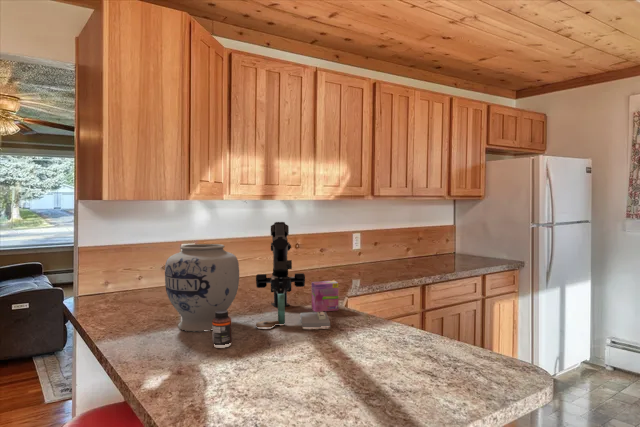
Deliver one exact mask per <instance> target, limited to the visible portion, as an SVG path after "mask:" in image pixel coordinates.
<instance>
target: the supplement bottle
mask: <svg viewBox="0 0 640 427" xmlns="http://www.w3.org/2000/svg"><path fill="white" fill-rule="evenodd" d="M212 328H213V331H212V345H213V344H215V345H225V344H229V343H231V342H232V343H233V335H232V334H233V333H232V330H233V328H232V318H231V317H230V316H229V310H228V309H227V310H217V311H216V312H215V318H214V319H213V321H212Z"/></svg>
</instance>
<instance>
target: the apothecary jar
mask: <svg viewBox="0 0 640 427" xmlns="http://www.w3.org/2000/svg"><path fill="white" fill-rule="evenodd" d="M224 248H225V244H222V243H220V244H219V243H198V244H197V243H193V244H191V243H190V244H183V245H180V249H181V251H180V252H176V253H174V254H172V255H171V256H169V257H168V258H167V260H166V262H165V266H164V285H165V291H166V295H167V298H168V300H169V302H170V304H171V305H172V306H173V308H174V310H176V311H177V313H178V314H179V315H180V317H181V318H182V319H181V321H180V322H179V323H178V324H177V327H178V329H179V330H181V329H182V330H181V331H183V330H186V331H185V332H187V331H204V330H211V329H213V328H212V321H213V319H214V318H215V312H216V311H217V310H228V309H229V307H231V305H232V304H233V302H234V300H235V299H236V296H237V293H238V289H239V284H240V283H239V282H240V264H239V260H238V257H237V256H236V255H235V254H234V253H232V252H229V251H226V250H225V249H224Z"/></svg>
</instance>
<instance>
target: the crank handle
mask: <svg viewBox="0 0 640 427" xmlns="http://www.w3.org/2000/svg"><path fill="white" fill-rule="evenodd" d="M284 323H285V324H286V306H285V294H278V307H277V320H273V321H272V320H262V321H258V322H256V323H255V327H256V326H257V327H272V326H274V325H275V324H284Z"/></svg>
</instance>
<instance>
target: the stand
mask: <svg viewBox="0 0 640 427" xmlns="http://www.w3.org/2000/svg"><path fill="white" fill-rule="evenodd" d="M299 314H300V315H299V316H300V318H301V320H300V324H301V323H302V325H301V328H302V327H321V326H330V327H331V321H330V318H329V316H328V313H327V311H325V312H314V311H313V312H300V313H299Z"/></svg>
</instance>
